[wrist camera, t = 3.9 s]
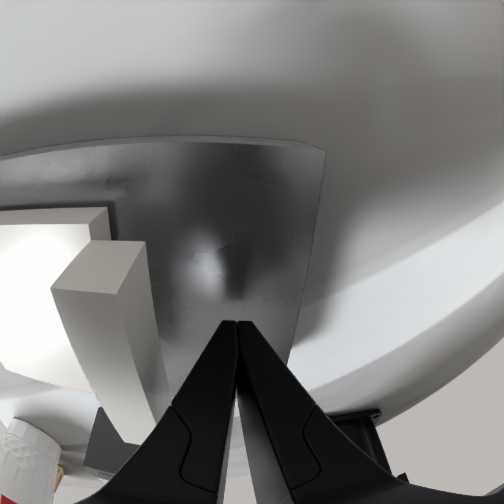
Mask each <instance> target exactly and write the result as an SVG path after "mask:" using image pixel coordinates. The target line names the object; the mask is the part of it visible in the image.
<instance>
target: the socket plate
mask: <svg viewBox="0 0 504 504" xmlns="http://www.w3.org/2000/svg"><path fill="white" fill-rule="evenodd" d="M325 155H326V151H323V150H321V149H318V148H316V147H314V146H311V145H309V144H306V143H304V142H297V141H287V140H277V139H265V138H250V137H232V136H146V137H128V138H114V139H103V140H93V141H84V142H75V143H68V144H61V145H54V146H48V147H42V148H36V149H31V150H26V151H21V152H16V153H11V154H7V155H2V156H0V211H12V210H29V209H51V208H83V207H107V208H108V218H109V226H110V234H111V241H146V251H147V261H148V269H149V278H150V285H151V293H152V300H153V306H154V313H155V319H156V325H157V330H158V336H159V341H160V347H161V352H162V357H163V362H164V366H165V371H166V375H167V380H168V384H169V388H170V393H171V396H175V395H176V394H177V392H178V391H179V389H180V387H181V386H182V384H183V383H184V381H185V379H186V378H187V376H188V374H189V373H190V371H191V370H192V368H193V366H194V365H195V363H196V362H197V360H198V358H199V357H200V355H201V353H202V352H203V350H204V349H205V347H206V345H207V344H208V342H209V340H210V339H211V337H212V336H213V334H214V332H215V331H216V329H217V327H218V326H219V324H220V322H221V321H222V320H235V321H236V322H238V321H239V320H244V321H252V322H253V323H254V324H255V326H256V327H257V328H258V330H259V331H260V332H261V334H262V335H263V336H264V337H265V339H266V340H267V341H268V343H269V344H270V345H271V347H272V348H273V349H274V350H275V352H276V353H277V354H278V356H279V357H280V358H281V359H282V361H283V362H284V363H285V365H286V366H287V363H288V358H289V354H290V350H291V346H292V341H293V337H294V332H295V328H296V323H297V319H298V314H299V309H300V305H301V300H302V295H303V290H304V285H305V280H306V275H307V269H308V264H309V259H310V253H311V247H312V242H313V236H314V230H315V224H316V218H317V211H318V205H319V198H320V192H321V185H322V178H323V170H324V163H325ZM235 399H237V392H236V398H235Z"/></svg>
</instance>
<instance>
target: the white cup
mask: <svg viewBox="0 0 504 504" xmlns="http://www.w3.org/2000/svg"><path fill="white" fill-rule="evenodd" d="M60 454H61V447H60V445H59V444H58V443H57V442H56V441H55V440H54V439H53V438H51V437H50V436H48V435H47V434H46V433H44V432H43V431H41V430H40V429H38V428H36V427H34V426H32V425H31V424H29V423H27V422H25V421H22V420H20V419H16V418H13V419H12V420H11V422H10V425H9V427H8V429H7V431H6V434H5V435H3V437H2V440H1V442H0V493H1V494H2V495H4V496H6V497H7V498H9V499H11V500H13V501H14V502H16V503H18V504H53V497H54V491H55V485H56V477H57V472H58V468H57V467H58V466H57V465H58V462H59V458H60Z"/></svg>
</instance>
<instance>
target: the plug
mask: <svg viewBox="0 0 504 504" xmlns="http://www.w3.org/2000/svg"><path fill="white" fill-rule="evenodd" d="M140 446H141V445H138V444H132V443H126V442H124V441H123V439H122V438H121V437H120V435H119V433H118V432H117V430H116V429H115V427H114V426H113V424H112V423H111V421H110V419H109V418H108V416H107V414H106V413H105V411H104V409H103V408H98V411H97V415H96V418H95V422H94V425H93V429H92V432H91V436H90V440H89V444H88V448H87V452H86V456H85V460H84V464H83V466H84V467H85V468H86V469H87V470H89V471H90V472H91V473H92V474H93V475H94V476H96V477H97V478H98V479H99V480H100V481H102V482H103V483H104V484H106V483H107V482H108V481H109V480H110V479H111V478H112V477H113V476H114V475H115V474H116V473H117V471H118V470H119V469H120V468H121V467H122V466H123V465H124V464H125V463H126V461H127V460H128V459H129V458H130V457H131V456H132V455H133V454H134V452H135V451H136V450H137V449H138V448H139V447H140Z"/></svg>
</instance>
